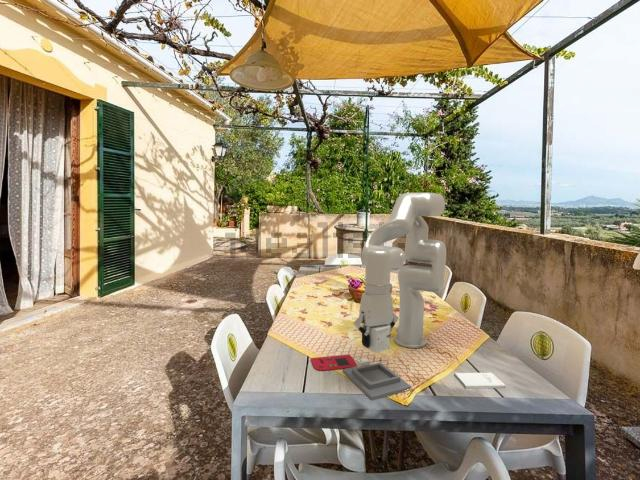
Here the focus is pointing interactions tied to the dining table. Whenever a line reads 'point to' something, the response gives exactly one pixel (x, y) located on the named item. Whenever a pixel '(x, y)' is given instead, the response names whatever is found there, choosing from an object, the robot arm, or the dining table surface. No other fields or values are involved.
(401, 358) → the dining table surface
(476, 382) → the external hard drive
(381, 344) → the skincare box
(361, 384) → the charging dock
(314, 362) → the handheld gaming console
